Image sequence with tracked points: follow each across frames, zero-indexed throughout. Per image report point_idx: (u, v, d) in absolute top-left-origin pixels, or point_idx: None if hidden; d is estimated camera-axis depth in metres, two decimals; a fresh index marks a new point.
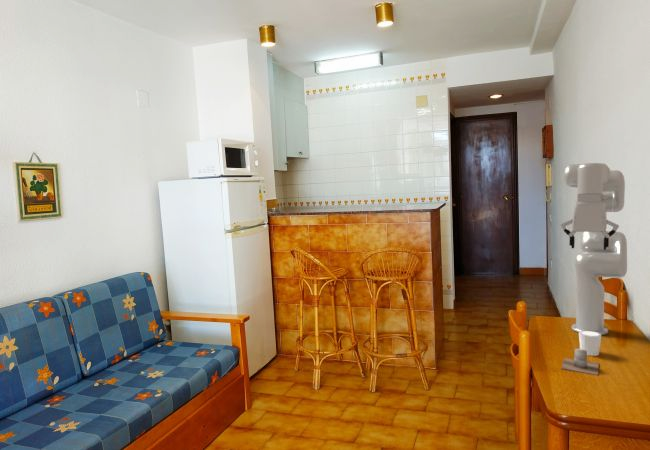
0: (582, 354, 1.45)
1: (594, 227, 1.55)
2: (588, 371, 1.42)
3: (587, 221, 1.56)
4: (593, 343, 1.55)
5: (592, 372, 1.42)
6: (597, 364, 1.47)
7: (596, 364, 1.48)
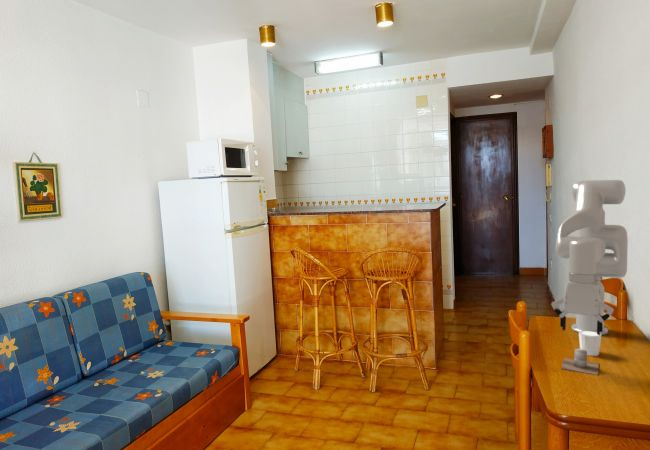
0: (582, 354, 1.45)
1: (587, 310, 1.42)
2: (588, 371, 1.42)
3: (579, 303, 1.43)
4: (593, 343, 1.55)
5: (592, 372, 1.42)
6: (597, 364, 1.47)
7: (596, 364, 1.48)
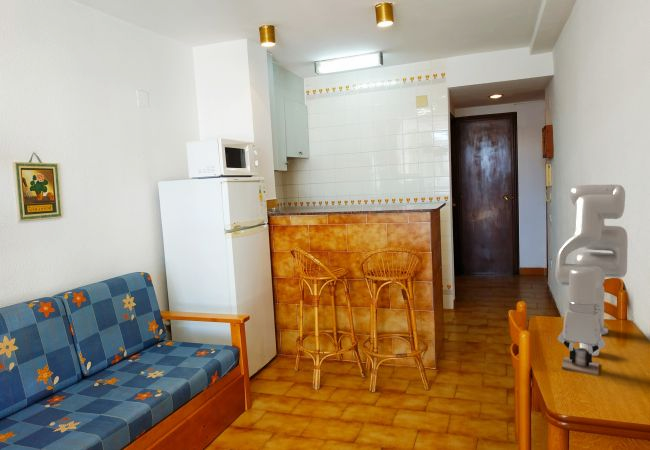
0: (583, 352, 1.45)
1: (586, 339, 1.43)
2: (588, 370, 1.42)
3: (578, 332, 1.44)
4: None
5: (592, 371, 1.42)
6: (597, 363, 1.47)
7: (596, 363, 1.48)
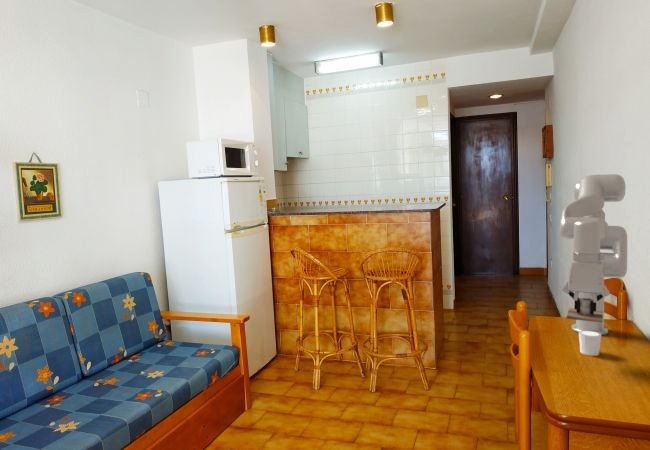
0: (587, 301, 1.48)
1: (591, 288, 1.47)
2: (593, 318, 1.46)
3: (583, 281, 1.48)
4: (593, 343, 1.55)
5: (597, 318, 1.45)
6: (601, 312, 1.51)
7: (600, 312, 1.51)
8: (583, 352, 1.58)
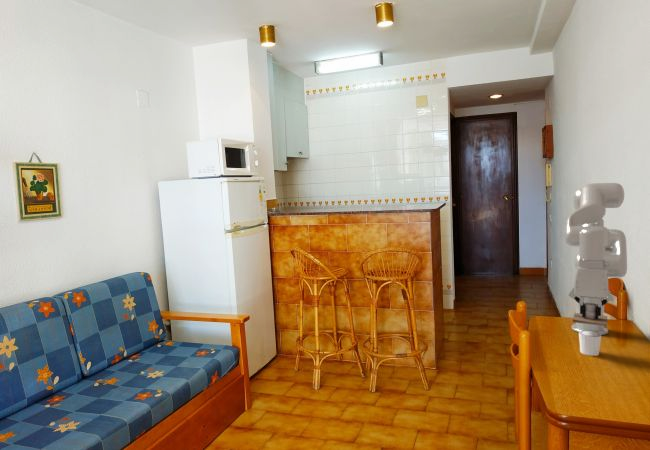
0: (592, 306, 1.55)
1: (596, 293, 1.54)
2: (598, 321, 1.53)
3: (588, 287, 1.55)
4: (593, 343, 1.55)
5: (601, 322, 1.52)
6: (606, 317, 1.58)
7: (605, 317, 1.58)
8: (583, 352, 1.58)
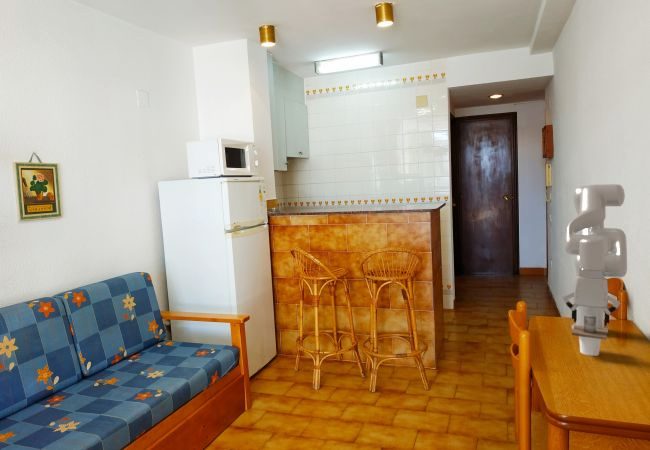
0: (592, 319, 1.56)
1: (596, 303, 1.54)
2: (597, 335, 1.53)
3: (588, 296, 1.55)
4: (593, 343, 1.55)
5: (601, 335, 1.53)
6: (605, 330, 1.58)
7: (604, 329, 1.59)
8: (583, 352, 1.58)
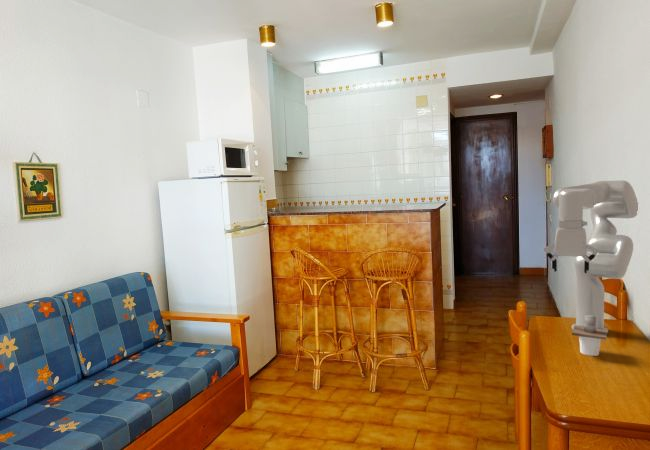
0: (592, 319, 1.56)
1: (575, 252, 1.61)
2: (597, 335, 1.53)
3: (568, 246, 1.62)
4: (593, 343, 1.55)
5: (601, 335, 1.53)
6: (605, 330, 1.58)
7: (604, 329, 1.59)
8: (583, 352, 1.58)
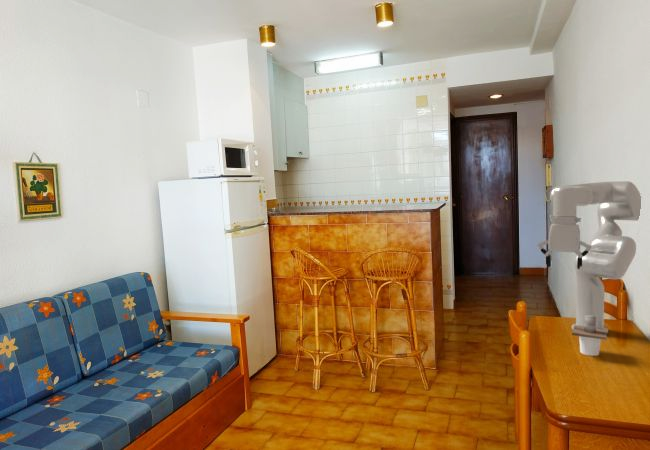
0: (592, 319, 1.56)
1: (568, 248, 1.64)
2: (597, 335, 1.53)
3: (561, 242, 1.65)
4: (593, 343, 1.55)
5: (601, 335, 1.53)
6: (605, 330, 1.58)
7: (604, 329, 1.59)
8: (583, 352, 1.58)
